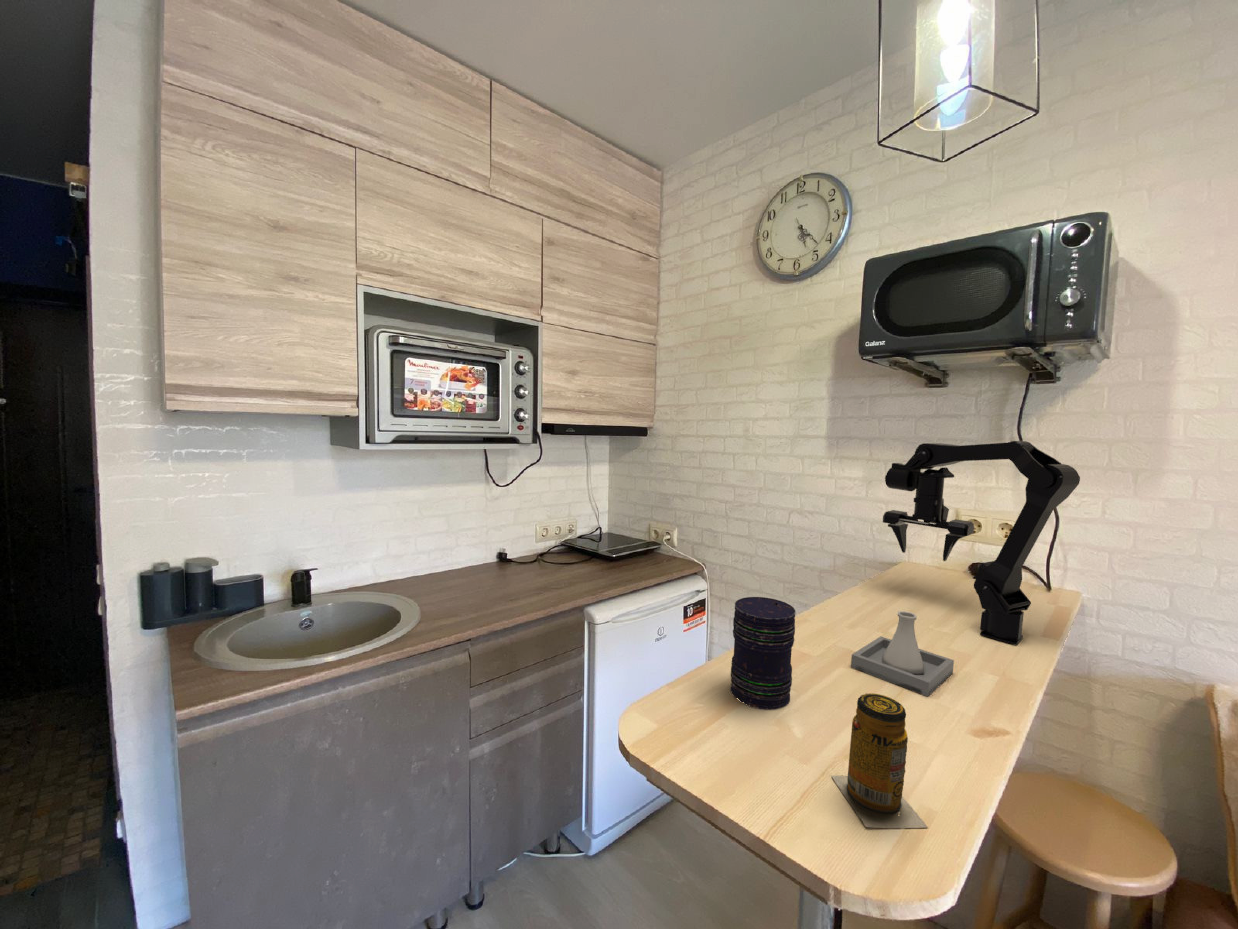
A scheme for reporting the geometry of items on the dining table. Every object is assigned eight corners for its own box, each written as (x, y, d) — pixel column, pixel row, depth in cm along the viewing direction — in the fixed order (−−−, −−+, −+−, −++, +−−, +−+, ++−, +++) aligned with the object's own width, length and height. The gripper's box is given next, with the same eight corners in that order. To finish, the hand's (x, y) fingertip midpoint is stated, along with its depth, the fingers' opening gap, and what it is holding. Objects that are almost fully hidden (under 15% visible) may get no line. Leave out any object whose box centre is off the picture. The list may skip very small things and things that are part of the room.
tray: (952, 673, 95) (953, 660, 95) (927, 697, 86) (929, 682, 86) (879, 648, 105) (880, 636, 104) (850, 667, 96) (851, 654, 96)
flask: (931, 678, 91) (936, 623, 90) (887, 672, 93) (892, 619, 92) (916, 659, 98) (921, 608, 97) (876, 655, 100) (880, 605, 99)
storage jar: (762, 717, 79) (767, 623, 78) (717, 688, 87) (721, 603, 86) (803, 699, 85) (809, 611, 83) (757, 673, 93) (762, 593, 92)
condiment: (885, 776, 67) (892, 688, 66) (928, 829, 58) (937, 728, 57) (830, 777, 66) (837, 688, 65) (865, 830, 58) (873, 729, 57)
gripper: (983, 496, 124) (977, 559, 126) (901, 487, 138) (896, 544, 140) (969, 500, 117) (963, 567, 119) (884, 490, 131) (879, 550, 132)
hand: (923, 556), depth 128 cm, fingers open, 9 cm apart
